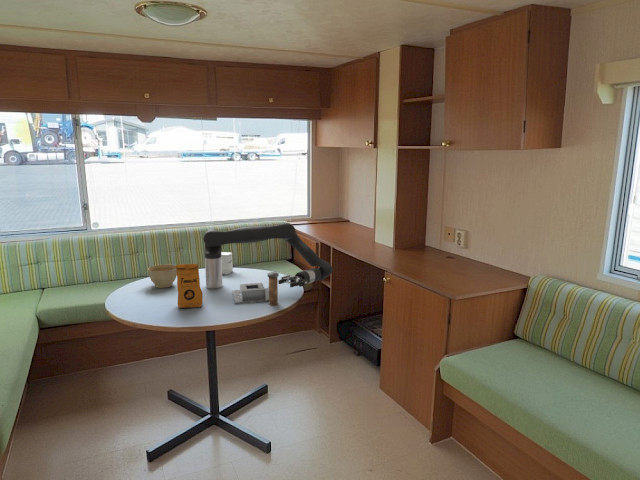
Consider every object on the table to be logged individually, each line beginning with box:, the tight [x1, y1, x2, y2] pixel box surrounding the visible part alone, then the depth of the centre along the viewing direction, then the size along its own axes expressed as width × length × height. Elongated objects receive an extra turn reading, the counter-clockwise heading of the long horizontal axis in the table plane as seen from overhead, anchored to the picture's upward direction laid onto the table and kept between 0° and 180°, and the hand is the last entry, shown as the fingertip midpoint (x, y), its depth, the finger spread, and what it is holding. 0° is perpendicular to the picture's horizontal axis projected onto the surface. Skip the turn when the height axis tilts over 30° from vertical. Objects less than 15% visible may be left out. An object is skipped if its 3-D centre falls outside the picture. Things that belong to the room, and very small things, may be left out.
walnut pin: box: [267, 271, 280, 306], centre depth 232 cm, size 6×6×16 cm
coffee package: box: [175, 263, 204, 309], centre depth 227 cm, size 10×12×22 cm
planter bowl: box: [147, 263, 177, 289], centre depth 261 cm, size 16×16×11 cm
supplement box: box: [221, 251, 234, 275], centre depth 289 cm, size 7×7×13 cm
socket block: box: [231, 282, 269, 305], centre depth 244 cm, size 20×20×6 cm
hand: (284, 283), depth 238 cm, fingers open, 8 cm apart
